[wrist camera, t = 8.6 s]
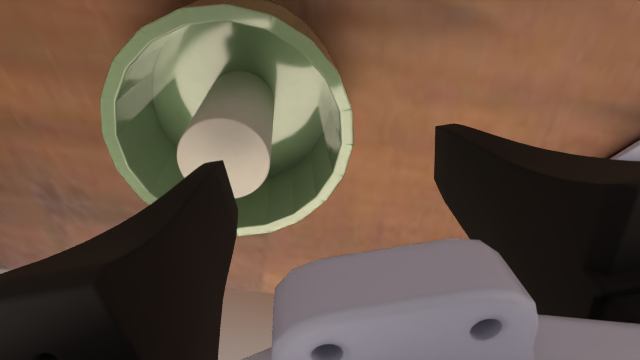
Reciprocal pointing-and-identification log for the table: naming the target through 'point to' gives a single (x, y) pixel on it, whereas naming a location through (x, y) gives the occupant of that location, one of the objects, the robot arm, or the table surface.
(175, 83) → the holder
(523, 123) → the table surface
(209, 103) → the white canister
